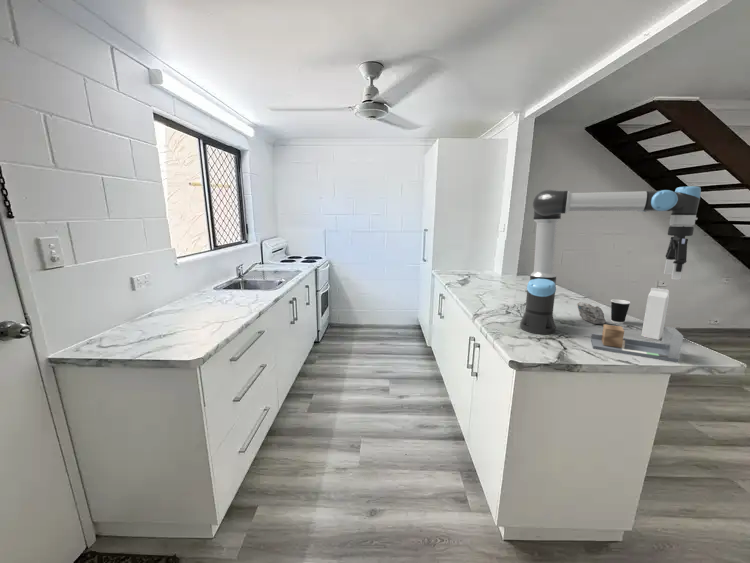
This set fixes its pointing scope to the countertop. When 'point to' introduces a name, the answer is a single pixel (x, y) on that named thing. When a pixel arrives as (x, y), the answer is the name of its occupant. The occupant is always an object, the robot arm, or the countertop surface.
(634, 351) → the gauge track
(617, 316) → the dixie cup
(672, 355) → the grey metal block
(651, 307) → the milk
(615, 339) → the block
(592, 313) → the rock
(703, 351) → the countertop surface
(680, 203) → the robot arm
